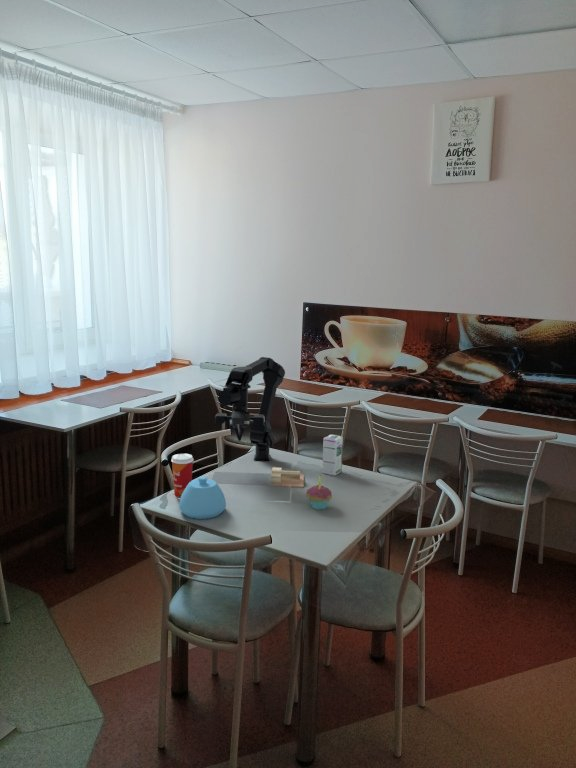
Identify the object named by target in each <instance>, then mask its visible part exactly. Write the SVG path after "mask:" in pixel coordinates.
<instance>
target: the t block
mask: <svg viewBox="0 0 576 768" xmlns="http://www.w3.org/2000/svg"><path fill="white" fill-rule="evenodd" d="M282 468H283V467H276V466H272V469H271V473H270V474H271V484H275V485H274V486H279V485H281V482H300V475H301V471H300V470H282Z"/></svg>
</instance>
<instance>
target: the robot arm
mask: <svg viewBox="0 0 576 768" xmlns="http://www.w3.org/2000/svg"><path fill="white" fill-rule="evenodd" d="M260 373H262V379H263V383H264V389H263V394H262V397H261V401H260V406H259V412H258V414H254V415H253V416H251V411H248V409H249V407H248V405H249V404H248V403H249V401H248V399H249V396H248V395H249V394H248V393H249V391H248V390H249V389H251V385H250V382H252V381H253V378H254V376H256V375H258V374H260ZM285 375H286V371H285V369H284V367H283V366H282V365H281V364H279V362H276V361H275V360H274V359H273V358H271V357H267V356H266V357H265V356H262V357H259V359H257V360H255V361H253V362H251V363H249V364H247V365H245V366H237V367H233V368H232V369H231V370H230V372H229V375H228V377H227V380H226V382H225V385H224V387H223V388H222V391H220V393H219V395H218V398H217V399H218V402H219V403H220V405H222V406H223V407H229V406H231V405H232V410H231V415H227V413H226V412H224V413H223V412H217V413H216V414H215V416H214V424H217V425H218V424H220V425H222V424H224V423H225V422H229V427H232V428H233V431H235V434H236V437H237V440H238V441H239V442H241V441H242V437H243V435H244V432H245V429H246V428H247V427H249V426H250V429H249V431H248V432H249V433H248V437H249V442H250V444H252V445H255V452H254V453H255V454H254V457H253V460H254V461H262V462H264V461H265V462H266V461H267V462H270V461H271V456H272V455H271V454H270V447H274V445H275V442H276V439H275V437H274V436H273V435H272V430H273V429H272V426H271V423H270V420H271V416H272V411H273V406H274V402H275V398H276V394H277V389H278V388H279V386H280V385H281V384H282V383H283V381H284V377H285ZM250 423H251V424H250Z"/></svg>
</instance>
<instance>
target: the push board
mask: <svg viewBox="0 0 576 768" xmlns="http://www.w3.org/2000/svg"><path fill="white" fill-rule="evenodd" d="M213 472H214V473H213V475H212V477H211V480H214V481H215V482H216V483H217V484H224V485H251V486H252V485H255V486H276V485H275V484H271V474H272V473H266V472H264V473H262V472H261V473H259V472H236V471H235V472H234V471H233V472H231V471H213ZM304 478H305V475H304V474H300V482H281V485H278V487H279V486H280V487H281V486H283V487H285V486H286V487H287V486H288V487H290V488H304V487H305V485H304V484H305V483H304V482H305V479H304Z"/></svg>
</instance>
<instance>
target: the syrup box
mask: <svg viewBox="0 0 576 768" xmlns="http://www.w3.org/2000/svg"><path fill="white" fill-rule="evenodd" d="M322 440H323V442H322V443H323V445H322V474H324V475H325V474H326V475H330V476H337V475H338V474H340V473H341V472H342V470H343V446H344V445H343V441H344V438H343V436H342V435H338V434H329V435H328V436H324V437H323V439H322Z"/></svg>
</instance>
